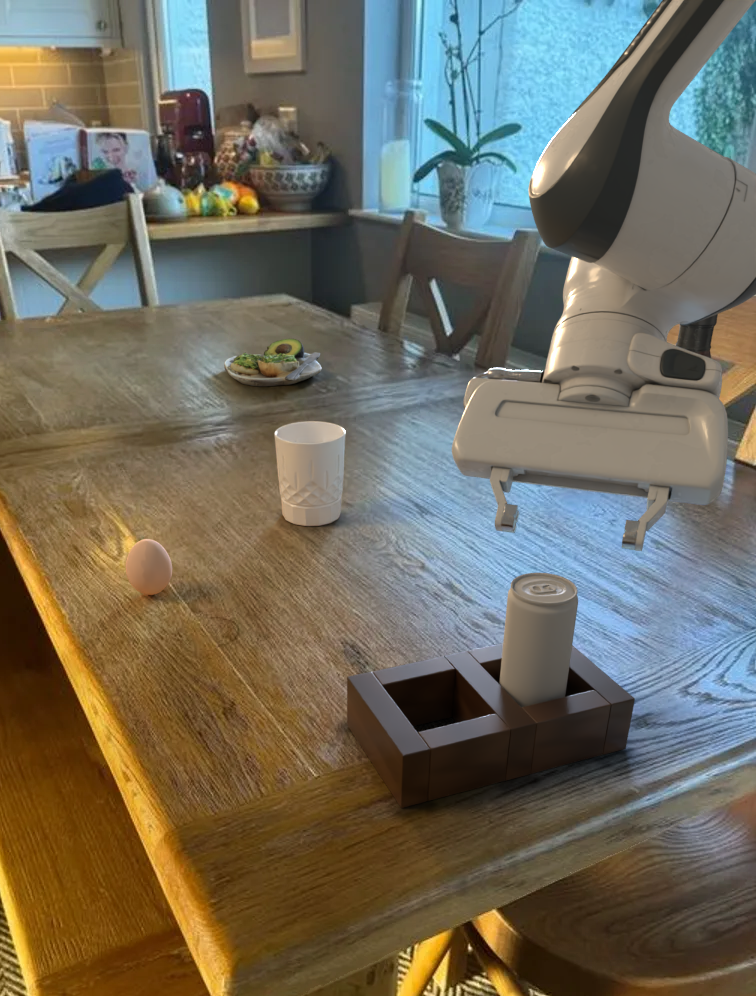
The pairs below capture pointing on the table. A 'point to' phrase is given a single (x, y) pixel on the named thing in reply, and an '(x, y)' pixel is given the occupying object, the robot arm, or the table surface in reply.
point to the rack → (478, 723)
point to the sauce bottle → (697, 336)
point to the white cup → (310, 471)
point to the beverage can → (538, 637)
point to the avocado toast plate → (274, 365)
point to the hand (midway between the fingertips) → (566, 538)
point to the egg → (148, 567)
